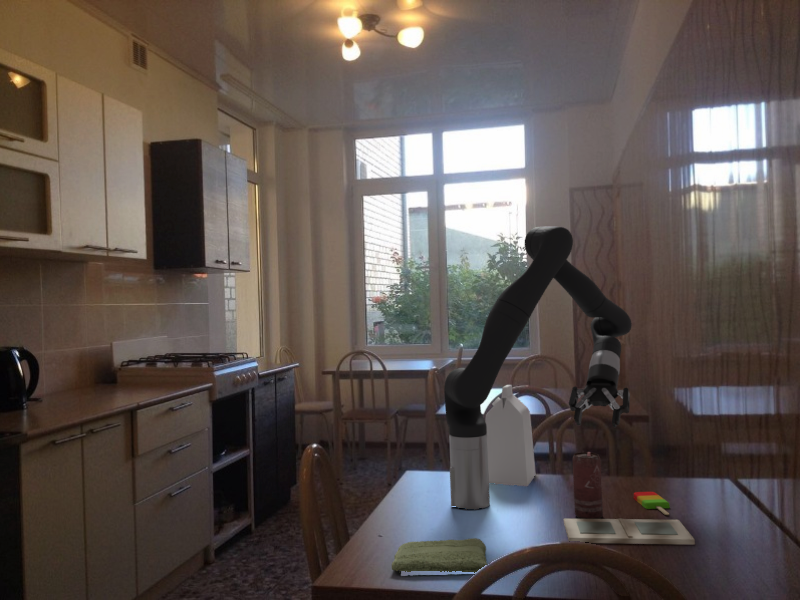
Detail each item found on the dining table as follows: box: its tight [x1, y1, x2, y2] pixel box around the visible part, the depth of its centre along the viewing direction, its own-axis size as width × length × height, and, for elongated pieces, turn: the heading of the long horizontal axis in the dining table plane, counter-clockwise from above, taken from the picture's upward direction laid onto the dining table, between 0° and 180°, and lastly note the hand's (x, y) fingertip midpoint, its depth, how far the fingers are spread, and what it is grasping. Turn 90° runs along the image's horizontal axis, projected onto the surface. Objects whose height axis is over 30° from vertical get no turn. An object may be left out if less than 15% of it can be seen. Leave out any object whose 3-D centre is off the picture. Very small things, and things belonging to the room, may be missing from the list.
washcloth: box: [391, 537, 488, 573], centre depth 124 cm, size 13×18×3 cm
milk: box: [484, 384, 537, 487], centre depth 182 cm, size 12×12×26 cm
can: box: [572, 451, 604, 519], centre depth 147 cm, size 6×6×14 cm
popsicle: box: [633, 491, 670, 516], centre depth 153 cm, size 6×15×2 cm, turn 179°
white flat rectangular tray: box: [563, 518, 696, 545], centre depth 135 cm, size 24×12×1 cm, turn 81°
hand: (595, 424), depth 157 cm, fingers open, 8 cm apart
